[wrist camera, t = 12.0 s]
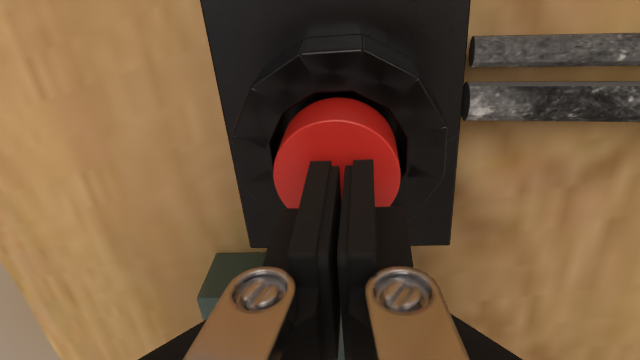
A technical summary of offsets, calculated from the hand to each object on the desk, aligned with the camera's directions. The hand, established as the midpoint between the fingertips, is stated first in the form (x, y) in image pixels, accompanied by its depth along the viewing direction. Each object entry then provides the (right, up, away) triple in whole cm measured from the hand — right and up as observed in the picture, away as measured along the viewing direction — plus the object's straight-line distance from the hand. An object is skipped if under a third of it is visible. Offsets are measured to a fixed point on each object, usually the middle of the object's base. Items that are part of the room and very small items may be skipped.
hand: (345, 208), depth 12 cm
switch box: (0, +3, +5) cm, 6 cm away
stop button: (0, +2, +2) cm, 3 cm away
